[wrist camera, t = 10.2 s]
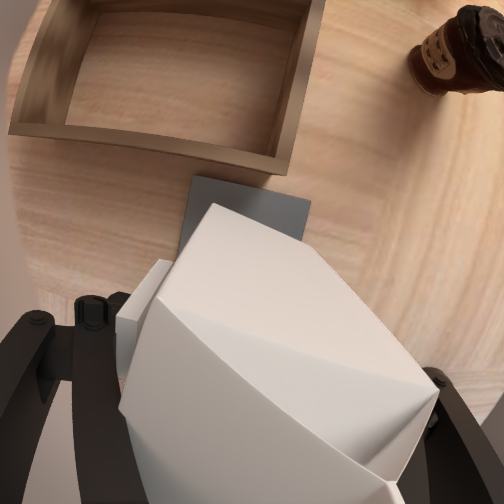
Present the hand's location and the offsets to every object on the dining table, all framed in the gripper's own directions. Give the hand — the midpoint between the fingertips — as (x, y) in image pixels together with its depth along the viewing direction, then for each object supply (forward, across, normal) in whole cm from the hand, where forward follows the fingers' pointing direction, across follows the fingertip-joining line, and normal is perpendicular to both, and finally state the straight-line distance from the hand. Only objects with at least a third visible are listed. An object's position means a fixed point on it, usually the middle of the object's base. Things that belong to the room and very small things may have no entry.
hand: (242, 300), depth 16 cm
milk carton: (+5, 0, 0) cm, 5 cm away
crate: (+14, +10, -15) cm, 22 cm away
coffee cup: (+14, -16, -24) cm, 32 cm away
